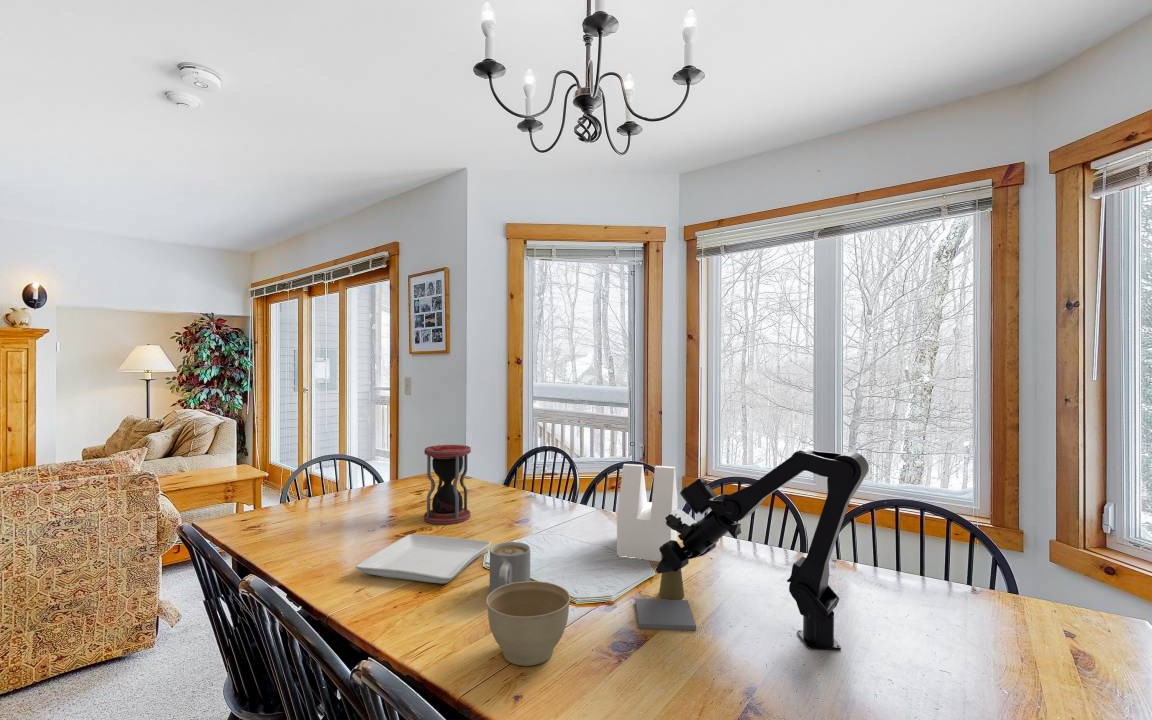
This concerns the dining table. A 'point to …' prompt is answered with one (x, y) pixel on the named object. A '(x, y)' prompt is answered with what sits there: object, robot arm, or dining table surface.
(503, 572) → the coffee mug
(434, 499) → the hourglass
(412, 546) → the square plate
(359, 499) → the dining table surface
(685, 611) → the charcoal mat
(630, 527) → the white slotted block
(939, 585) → the dining table surface
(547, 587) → the planter bowl
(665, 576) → the cork
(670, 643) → the dining table surface
